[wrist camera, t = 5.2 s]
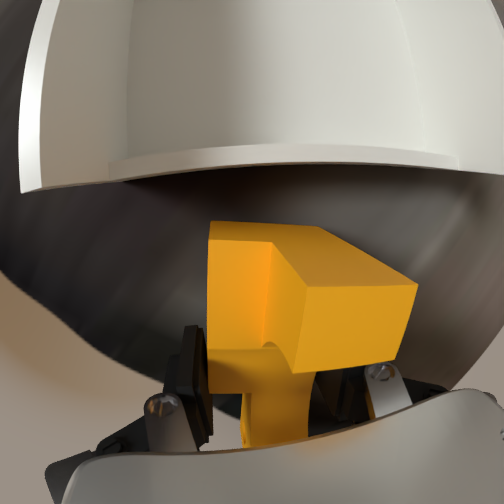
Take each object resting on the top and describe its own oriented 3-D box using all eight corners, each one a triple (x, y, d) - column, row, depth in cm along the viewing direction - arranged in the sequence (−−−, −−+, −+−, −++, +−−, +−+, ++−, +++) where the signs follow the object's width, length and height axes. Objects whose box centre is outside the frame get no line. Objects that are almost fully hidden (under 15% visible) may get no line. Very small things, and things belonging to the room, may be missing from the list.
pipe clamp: (210, 220, 11) (203, 284, 4) (317, 226, 11) (418, 284, 5) (210, 427, 14) (215, 521, 8) (282, 424, 14) (308, 511, 8)
